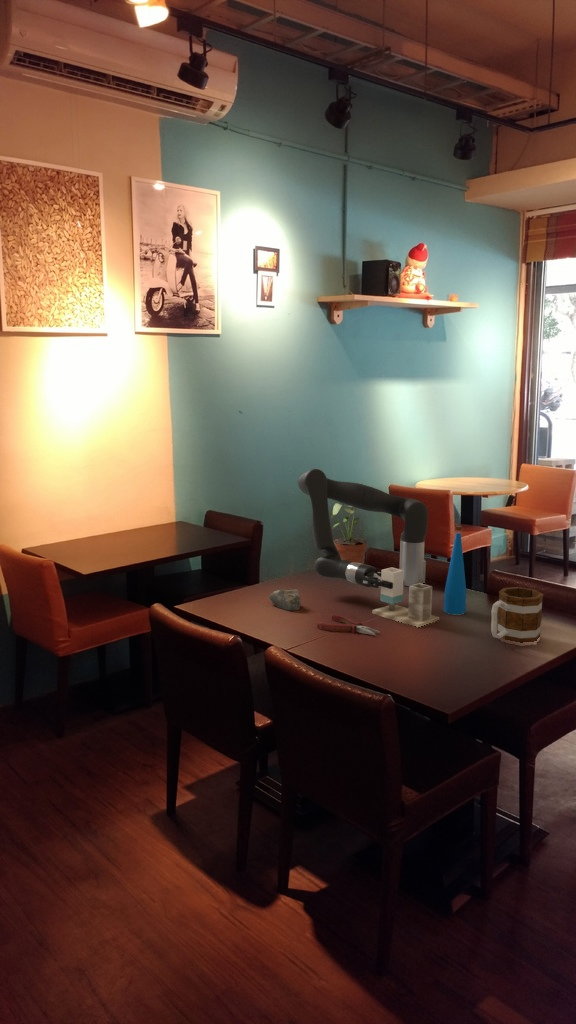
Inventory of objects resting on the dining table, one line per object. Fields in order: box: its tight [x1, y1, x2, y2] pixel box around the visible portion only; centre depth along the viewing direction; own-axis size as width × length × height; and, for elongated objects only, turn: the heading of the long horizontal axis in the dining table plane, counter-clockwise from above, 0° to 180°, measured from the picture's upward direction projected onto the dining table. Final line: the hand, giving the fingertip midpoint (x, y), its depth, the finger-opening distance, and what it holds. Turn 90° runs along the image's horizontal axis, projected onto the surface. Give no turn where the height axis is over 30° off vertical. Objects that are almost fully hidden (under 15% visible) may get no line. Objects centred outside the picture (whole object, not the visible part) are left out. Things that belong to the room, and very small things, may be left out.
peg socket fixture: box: [371, 583, 440, 628], centre depth 265 cm, size 20×11×12 cm, turn 43°
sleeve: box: [380, 567, 404, 605], centre depth 269 cm, size 5×5×11 cm
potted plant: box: [329, 502, 368, 564], centre depth 320 cm, size 16×15×35 cm
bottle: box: [443, 525, 467, 614], centre depth 270 cm, size 7×7×30 cm
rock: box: [268, 588, 301, 612], centre depth 278 cm, size 13×9×6 cm, turn 43°
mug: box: [490, 586, 545, 643], centre depth 243 cm, size 20×14×15 cm
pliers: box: [316, 614, 381, 636], centre depth 253 cm, size 12×20×3 cm, turn 55°
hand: (397, 584), depth 267 cm, fingers closed on sleeve, 5 cm apart
